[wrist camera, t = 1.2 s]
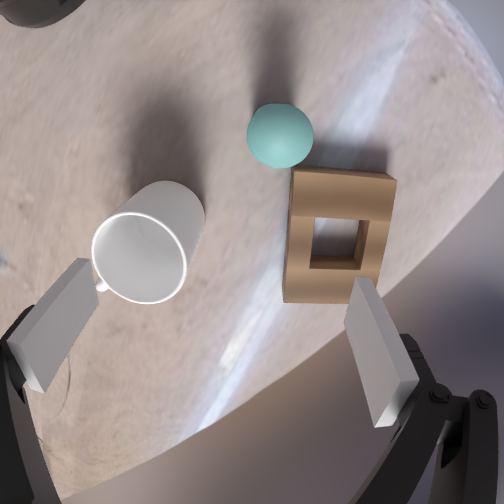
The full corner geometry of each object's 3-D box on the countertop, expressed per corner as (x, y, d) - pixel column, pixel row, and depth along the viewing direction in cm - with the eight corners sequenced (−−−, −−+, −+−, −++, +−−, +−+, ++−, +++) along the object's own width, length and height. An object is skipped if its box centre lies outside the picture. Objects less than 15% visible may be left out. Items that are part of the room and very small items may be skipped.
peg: (252, 102, 28) (247, 102, 18) (294, 104, 28) (315, 106, 18) (251, 143, 30) (245, 166, 19) (292, 145, 30) (311, 170, 19)
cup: (222, 224, 34) (208, 272, 25) (145, 280, 37) (115, 335, 28) (172, 162, 31) (136, 189, 22) (98, 229, 34) (54, 272, 25)
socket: (291, 165, 31) (294, 171, 28) (386, 173, 31) (397, 180, 28) (282, 287, 37) (283, 302, 34) (364, 289, 37) (371, 303, 34)
